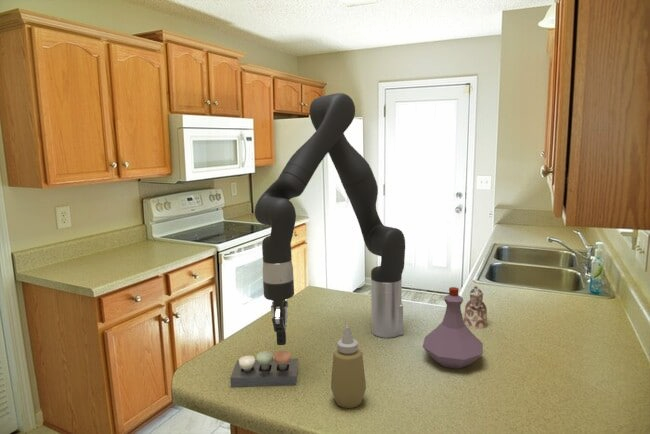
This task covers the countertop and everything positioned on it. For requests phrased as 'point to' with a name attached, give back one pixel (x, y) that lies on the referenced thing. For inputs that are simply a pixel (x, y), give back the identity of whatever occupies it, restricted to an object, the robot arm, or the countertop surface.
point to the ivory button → (247, 363)
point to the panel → (265, 375)
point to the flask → (453, 337)
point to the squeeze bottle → (348, 372)
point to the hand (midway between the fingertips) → (281, 343)
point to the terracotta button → (282, 359)
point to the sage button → (265, 360)
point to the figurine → (475, 310)
